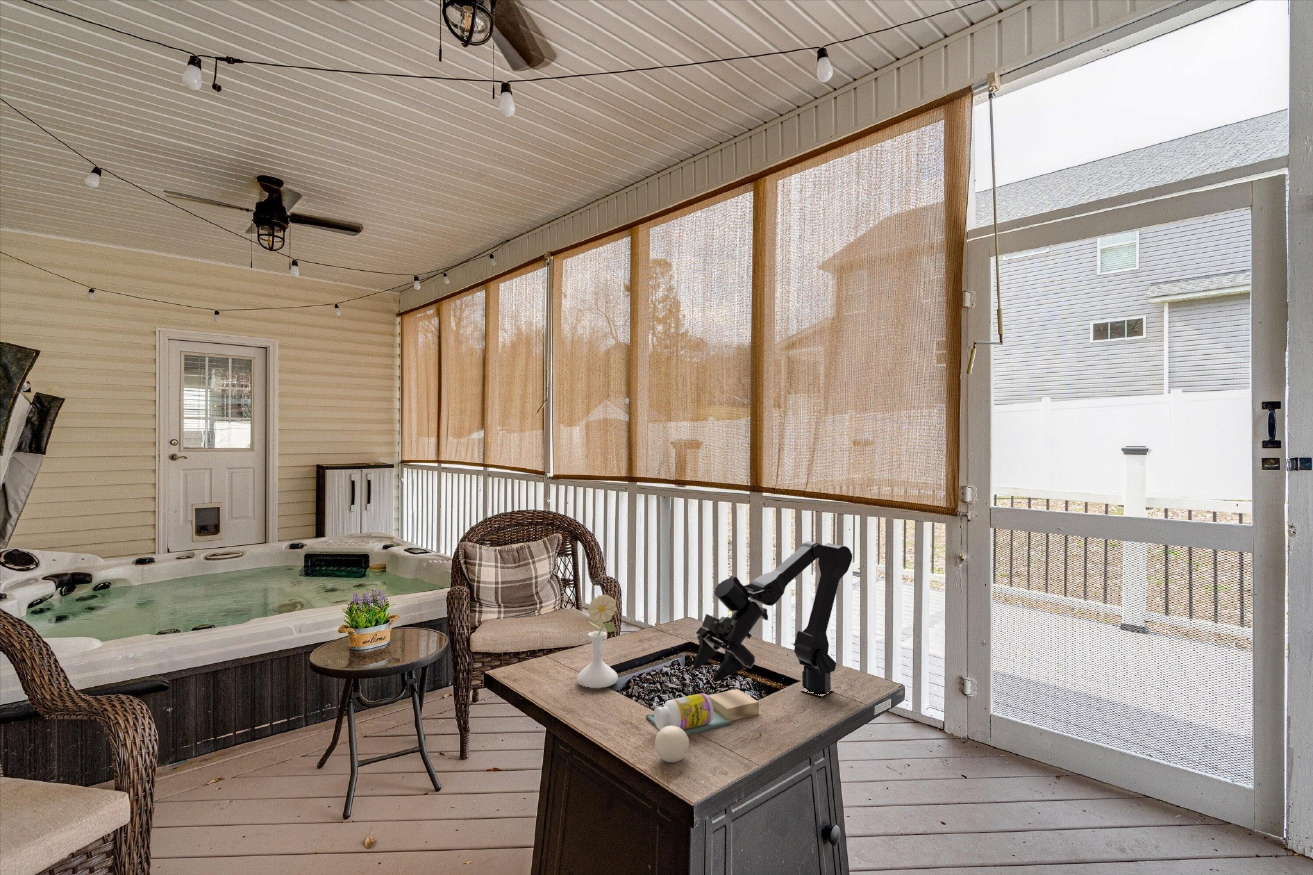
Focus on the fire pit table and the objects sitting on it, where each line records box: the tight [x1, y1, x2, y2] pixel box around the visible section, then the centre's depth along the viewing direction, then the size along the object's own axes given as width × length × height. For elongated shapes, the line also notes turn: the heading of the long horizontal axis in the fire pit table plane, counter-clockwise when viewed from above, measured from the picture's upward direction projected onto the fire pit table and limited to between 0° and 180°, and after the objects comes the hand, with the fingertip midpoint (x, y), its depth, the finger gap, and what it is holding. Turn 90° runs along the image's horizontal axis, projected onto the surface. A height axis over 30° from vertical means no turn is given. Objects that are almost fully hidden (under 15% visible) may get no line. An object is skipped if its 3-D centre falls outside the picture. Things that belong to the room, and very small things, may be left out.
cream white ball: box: [654, 726, 690, 763], centre depth 127 cm, size 7×7×7 cm
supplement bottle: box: [653, 692, 714, 731], centre depth 141 cm, size 7×7×13 cm
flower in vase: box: [576, 593, 619, 689], centre depth 168 cm, size 13×11×25 cm
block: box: [706, 688, 760, 722], centre depth 151 cm, size 9×9×3 cm
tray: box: [645, 711, 731, 736], centre depth 145 cm, size 16×12×1 cm
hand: (703, 674), depth 147 cm, fingers open, 9 cm apart
